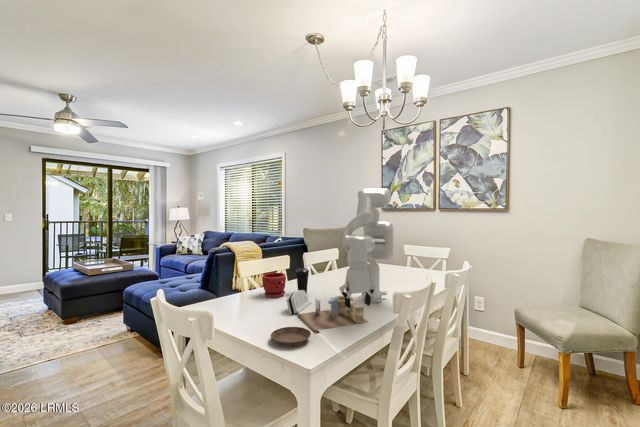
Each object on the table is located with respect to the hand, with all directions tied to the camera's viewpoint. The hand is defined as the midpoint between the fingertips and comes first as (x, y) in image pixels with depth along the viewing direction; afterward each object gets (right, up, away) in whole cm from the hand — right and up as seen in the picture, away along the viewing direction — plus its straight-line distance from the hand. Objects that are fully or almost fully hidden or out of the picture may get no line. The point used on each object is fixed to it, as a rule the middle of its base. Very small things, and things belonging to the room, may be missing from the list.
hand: (357, 305), depth 132 cm
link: (-3, -7, +8) cm, 11 cm away
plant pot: (-42, -7, +43) cm, 61 cm away
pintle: (-17, -7, +8) cm, 20 cm away
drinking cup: (-26, -7, +47) cm, 54 cm away
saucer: (-27, -8, -17) cm, 33 cm away
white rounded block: (-26, -8, +19) cm, 33 cm away
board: (-11, -8, +4) cm, 14 cm away
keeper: (-10, -7, +6) cm, 14 cm away
